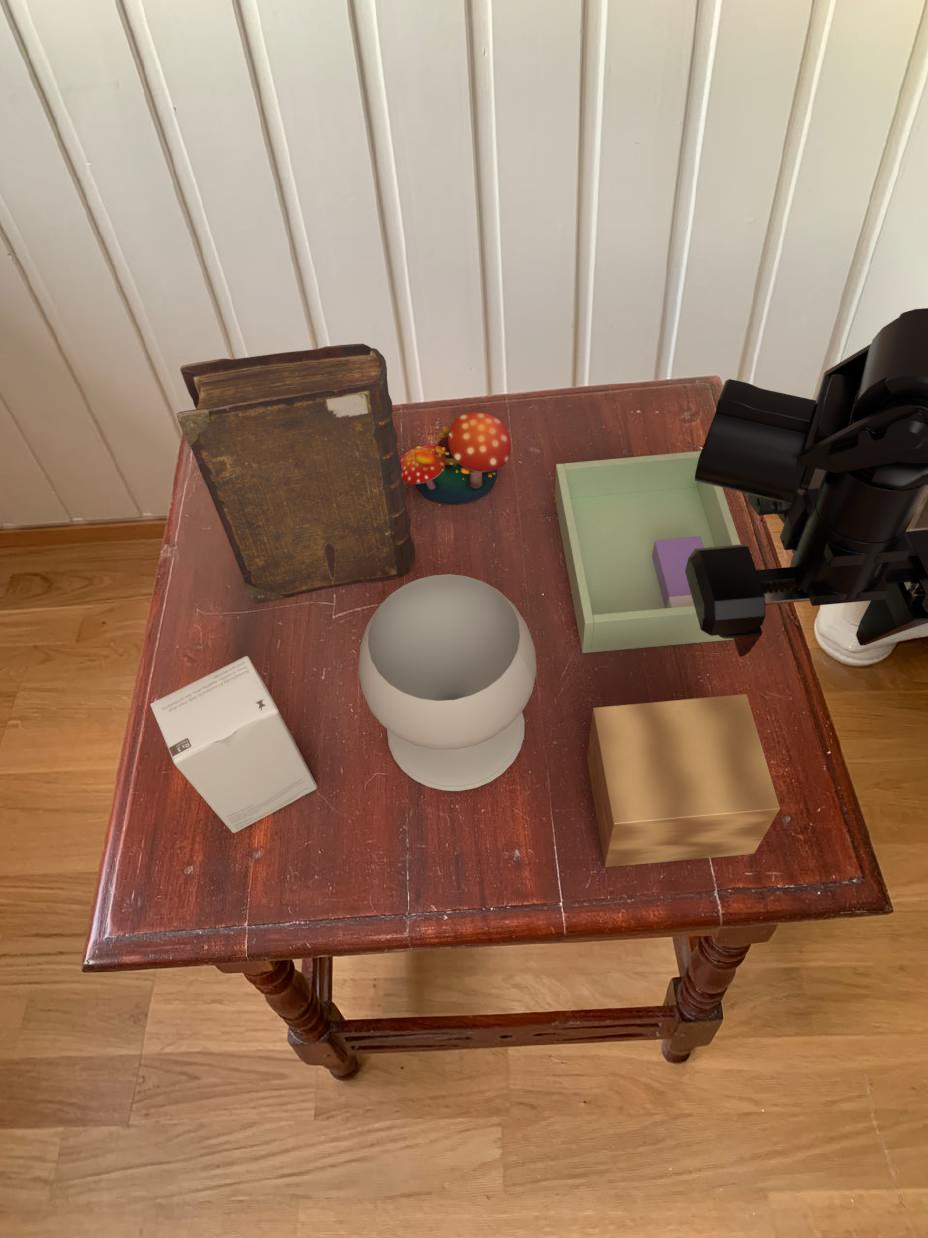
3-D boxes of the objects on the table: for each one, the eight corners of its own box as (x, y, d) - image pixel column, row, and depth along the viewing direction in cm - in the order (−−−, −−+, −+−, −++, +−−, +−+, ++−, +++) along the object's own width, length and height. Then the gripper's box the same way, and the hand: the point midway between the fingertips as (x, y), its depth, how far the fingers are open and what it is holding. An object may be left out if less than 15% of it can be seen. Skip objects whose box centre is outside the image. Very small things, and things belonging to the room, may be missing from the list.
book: (416, 538, 93) (385, 337, 72) (418, 593, 89) (385, 396, 68) (254, 551, 93) (178, 354, 73) (249, 607, 89) (166, 415, 68)
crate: (725, 746, 77) (746, 693, 70) (754, 854, 72) (780, 809, 65) (586, 759, 77) (592, 707, 70) (604, 867, 72) (613, 824, 65)
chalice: (556, 688, 82) (562, 589, 69) (502, 826, 74) (497, 742, 62) (415, 644, 85) (397, 542, 73) (350, 771, 78) (318, 682, 66)
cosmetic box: (293, 739, 80) (252, 647, 68) (320, 793, 77) (282, 707, 65) (204, 783, 78) (145, 698, 66) (229, 841, 75) (172, 762, 63)
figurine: (506, 439, 100) (505, 379, 93) (514, 501, 95) (513, 442, 88) (399, 448, 100) (390, 388, 93) (400, 511, 95) (391, 452, 88)
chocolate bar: (697, 552, 89) (701, 535, 87) (719, 626, 84) (724, 610, 82) (651, 556, 89) (654, 539, 87) (670, 630, 84) (673, 615, 82)
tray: (702, 484, 95) (710, 449, 91) (749, 638, 84) (761, 606, 79) (554, 497, 95) (555, 463, 91) (582, 653, 84) (585, 622, 80)
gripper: (961, 406, 61) (885, 553, 73) (685, 431, 61) (657, 573, 73) (1034, 532, 54) (937, 668, 67) (724, 560, 54) (686, 691, 67)
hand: (799, 645), depth 69 cm, fingers open, 9 cm apart
